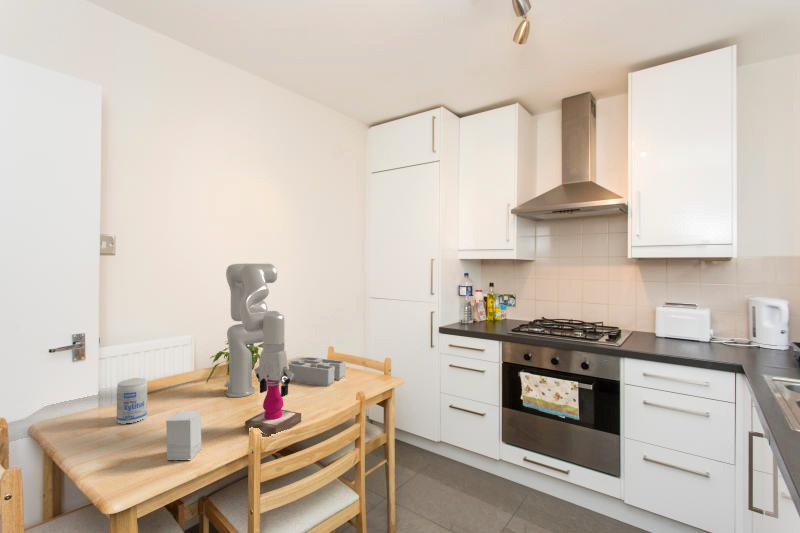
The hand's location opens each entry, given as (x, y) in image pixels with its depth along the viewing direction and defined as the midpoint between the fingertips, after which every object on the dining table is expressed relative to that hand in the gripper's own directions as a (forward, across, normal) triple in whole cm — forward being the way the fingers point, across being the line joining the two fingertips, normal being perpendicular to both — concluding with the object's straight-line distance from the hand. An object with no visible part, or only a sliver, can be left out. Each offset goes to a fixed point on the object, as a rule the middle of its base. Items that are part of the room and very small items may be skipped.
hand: (273, 393), depth 142 cm
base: (+12, 0, 0) cm, 12 cm away
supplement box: (+12, -11, -28) cm, 32 cm away
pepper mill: (+9, 0, 0) cm, 9 cm away
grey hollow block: (+12, -20, +53) cm, 58 cm away
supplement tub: (+12, -53, -17) cm, 57 cm away
